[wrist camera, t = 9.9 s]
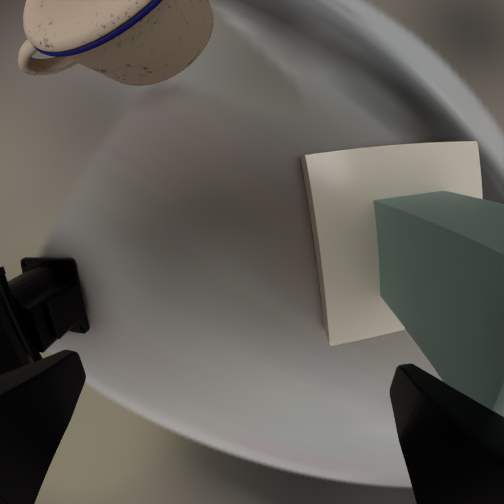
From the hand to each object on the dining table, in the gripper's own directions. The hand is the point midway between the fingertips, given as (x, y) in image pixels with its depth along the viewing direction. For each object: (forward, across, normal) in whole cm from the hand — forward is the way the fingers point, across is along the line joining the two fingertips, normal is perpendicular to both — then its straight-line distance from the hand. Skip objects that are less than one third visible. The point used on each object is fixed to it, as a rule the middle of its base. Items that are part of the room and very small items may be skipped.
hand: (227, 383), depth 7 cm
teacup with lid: (+13, +8, -15) cm, 22 cm away
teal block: (+11, -10, -1) cm, 15 cm away
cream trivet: (+13, -10, -1) cm, 16 cm away
